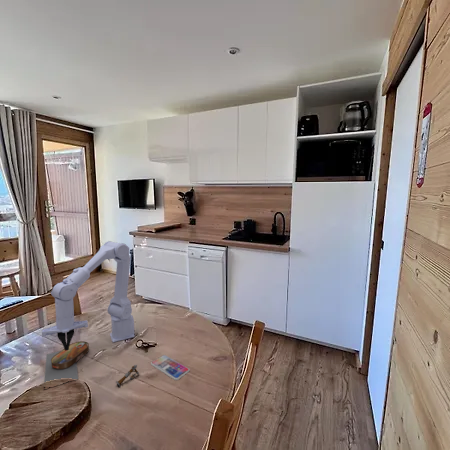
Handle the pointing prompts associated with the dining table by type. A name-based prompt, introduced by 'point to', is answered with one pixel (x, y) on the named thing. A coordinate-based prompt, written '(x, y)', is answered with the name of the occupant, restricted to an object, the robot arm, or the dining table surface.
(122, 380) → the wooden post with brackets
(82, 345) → the tin
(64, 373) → the mat
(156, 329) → the dining table surface
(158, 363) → the smartphone
